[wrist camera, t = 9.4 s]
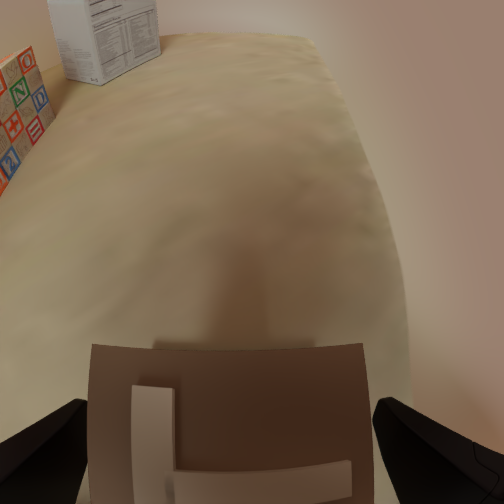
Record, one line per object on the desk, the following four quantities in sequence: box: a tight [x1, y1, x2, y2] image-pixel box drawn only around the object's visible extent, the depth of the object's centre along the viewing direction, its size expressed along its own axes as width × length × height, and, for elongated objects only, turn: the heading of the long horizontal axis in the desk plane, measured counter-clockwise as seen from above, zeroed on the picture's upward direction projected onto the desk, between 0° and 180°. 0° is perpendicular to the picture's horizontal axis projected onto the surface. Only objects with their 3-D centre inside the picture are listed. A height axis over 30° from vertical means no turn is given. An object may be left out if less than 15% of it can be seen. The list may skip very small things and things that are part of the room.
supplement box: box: [47, 0, 161, 86], centre depth 31 cm, size 13×13×18 cm
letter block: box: [87, 343, 374, 504], centre depth 9 cm, size 5×5×12 cm
